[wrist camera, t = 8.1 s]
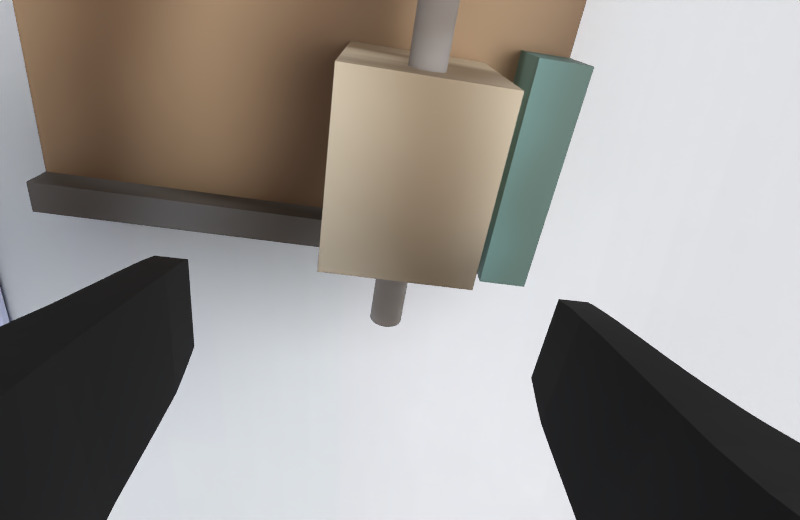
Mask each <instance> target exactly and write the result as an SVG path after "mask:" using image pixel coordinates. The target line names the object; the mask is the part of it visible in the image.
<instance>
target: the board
mask: <svg viewBox="0 0 800 520" xmlns="http://www.w3.org/2000/svg"><path fill="white" fill-rule="evenodd" d="M12 1H13V6H14V11H15V16H16V21H17V26H18V31H19V36H20V41H21V47H22V52H23V57H24V62H25V67H26V72H27V77H28V82H29V87H30V92H31V97H32V102H33V107H34V113H35V118H36V123H37V128H38V133H39V138H40V143H41V148H42V153H43V158H44V163H45V168H46V172H44V173H42V174H41V175H39V176H37V177H35V178H33V179H31V180H29V181H27V182H26V183H27V187H28V192H29V196H30V201H31V205H32V210H33V212H41V213H49V214H57V215H65V216H73V217H81V218H90V219H98V220H106V221H114V222H122V223H130V224H138V225H146V226H154V227H162V228H170V229H178V230H186V231H194V232H202V233H210V234H218V235H226V236H234V237H243V238H251V239H259V240H267V241H275V242H283V243H291V244H299V245H307V246H315V247H320V235H321V223H322V211H323V199H324V187H325V175H326V163H327V151H328V139H329V127H330V115H331V103H332V91H333V79H334V67H335V60H336V59H337V58H338V57H339V55H340V54H341V53H342V51H343V50H344V49H345V48H346V46H347V45H348V44H349V43H350V41H357V42H363V43H370V44H376V45H382V46H388V47H394V48H400V49H406V50H410V48H411V42H412V35H413V28H414V22H415V15H416V8H417V1H418V0H12ZM585 4H586V0H460V3H459V8H458V14H457V19H456V24H455V30H454V35H453V40H452V46H451V51H450V57H455V58H461V59H468V60H474V61H480V62H484V63H486V64H487V65H488V66H490V67H491V68H493V69H494V70H495V71H497V72H498V73H500V74H501V75H502V76H504V77H505V78H507V79H508V80H509V81H511V82H512V83H514V84H515V85H517V86H518V87H519V88H521V89H522V90H524V94H523V98H522V102H521V106H520V110H519V114H518V117H517V121H516V125H515V129H514V133H513V136H512V140H511V144H510V148H509V152H508V156H507V159H506V163H505V167H504V171H503V175H502V179H501V182H500V186H499V190H498V194H497V198H496V201H495V205H494V209H493V213H492V217H491V221H490V224H489V228H488V232H487V236H486V240H485V244H484V247H483V251H482V255H481V259H480V263H479V266H478V270H477V274H478V277H479V280H480V281H482V282H490V283H498V284H507V285H515V286H523V287H524V285H525V282H526V279H527V276H528V272H529V269H530V266H531V263H532V260H533V257H534V254H535V250H536V247H537V244H538V241H539V238H540V235H541V232H542V229H543V225H544V222H545V219H546V216H547V213H548V210H549V207H550V203H551V200H552V197H553V194H554V191H555V188H556V185H557V182H558V178H559V175H560V172H561V169H562V166H563V163H564V160H565V156H566V153H567V150H568V147H569V144H570V141H571V138H572V135H573V131H574V128H575V125H576V122H577V119H578V116H579V113H580V109H581V106H582V103H583V100H584V97H585V94H586V91H587V88H588V84H589V81H590V78H591V75H592V72H593V69H594V67H593V66H590V65H588V64H585V63H582V62H579V61H576V60H573V59H571V58H570V55H571V51H572V48H573V45H574V41H575V38H576V34H577V31H578V28H579V24H580V21H581V17H582V14H583V11H584V7H585Z"/></svg>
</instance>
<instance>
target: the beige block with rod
mask: <svg viewBox="0 0 800 520" xmlns="http://www.w3.org/2000/svg"><path fill="white" fill-rule="evenodd" d="M459 3H460V0H418V1H417V8H416V15H415V22H414V28H413V35H412V42H411V48H410V50H406V49H400V48H394V47H388V46H382V45H376V44H370V43H363V42H357V41H350V43H349V44H348V45H347V46H346V48H345V49H344V50H343V51H342V53H341V54H340V55H339V57H338V58H337V59H336V60H335V67H334V79H333V91H332V103H331V115H330V127H329V139H328V151H327V163H326V175H325V187H324V199H323V211H322V223H321V235H320V247H319V259H318V271H317V272H325V273H333V274H342V275H350V276H358V277H367V278H375V279H376V282H375V288H374V295H373V302H372V308H371V315H370V317H371V320H372V321H373V322H374V323H376V324H378V325H380V326H385V327H392V326H395V325H397V324H399V322H400V320H401V315H402V309H403V304H404V298H405V293H406V288H407V282H409V283H417V284H425V285H434V286H442V287H450V288H459V289H467V290H472V289H473V286H474V282H475V278H476V274H477V270H478V266H479V263H480V259H481V255H482V251H483V247H484V244H485V240H486V236H487V232H488V228H489V224H490V221H491V217H492V213H493V209H494V205H495V201H496V198H497V194H498V190H499V186H500V182H501V179H502V175H503V171H504V167H505V163H506V159H507V156H508V152H509V148H510V144H511V140H512V136H513V133H514V129H515V125H516V121H517V117H518V114H519V110H520V106H521V102H522V98H523V94H524V90H522V89H521V88H519V87H518V86H517V85H515V84H514V83H512V82H511V81H509V80H508V79H507V78H505V77H504V76H502V75H501V74H500V73H498V72H497V71H495V70H494V69H493V68H491V67H490V66H488V65H487V64H486V63H484V62H480V61H474V60H468V59H461V58H455V57H450V51H451V46H452V40H453V35H454V30H455V24H456V19H457V14H458V8H459Z"/></svg>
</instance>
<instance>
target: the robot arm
mask: <svg viewBox="0 0 800 520" xmlns="http://www.w3.org/2000/svg"><path fill="white" fill-rule="evenodd" d="M193 348H194V337H193V323H192V309H191V295H190V281H189V267H188V259H179V258H170V257H161V256H153V257H150V258H147V259H145V260H142V261H140V262H138V263H135V264H133V265H131V266H129V267H127V268H125V269H123V270H120V271H118V272H116V273H114V274H112V275H110V276H108V277H106V278H104V279H102V280H100V281H98V282H96V283H94V284H92V285H90V286H87V287H85V288H83V289H81V290H79V291H77V292H75V293H73V294H71V295H69V296H67V297H65V298H63V299H60V300H58V301H56V302H54V303H52V304H50V305H48V306H45V307H43V308H41V309H39V310H36V311H34V312H32V313H30V314H27V315H25V316H23V317H20V318H18V319H16V320H14V321H11V322H9V318H8V314H7V311H6V307H5V304H4V300H3V296H2V293H1V289H0V520H107V518H108V516H109V514H110V512H111V510H112V508H113V506H114V504H115V502H116V501H117V499H118V497H119V495H120V493H121V492H122V490H123V488H124V486H125V484H126V483H127V481H128V479H129V477H130V475H131V474H132V472H133V470H134V468H135V467H136V465H137V463H138V461H139V459H140V458H141V456H142V454H143V452H144V450H145V449H146V447H147V445H148V443H149V442H150V440H151V438H152V436H153V434H154V433H155V431H156V429H157V427H158V425H159V424H160V422H161V420H162V418H163V416H164V414H165V413H166V411H167V409H168V407H169V405H170V404H171V402H172V400H173V398H174V396H175V394H176V392H177V390H178V387H179V385H180V382H181V380H182V377H183V375H184V373H185V370H186V367H187V365H188V362H189V359H190V356H191V354H192V351H193ZM531 378H532V383H533V388H534V393H535V398H536V403H537V407H538V412H539V416H540V420H541V424H542V427H543V430H544V433H545V436H546V438H547V441H548V444H549V447H550V449H551V452H552V455H553V458H554V461H555V463H556V466H557V469H558V471H559V474H560V477H561V479H562V482H563V485H564V488H565V490H566V493H567V496H568V498H569V501H570V504H571V506H572V509H573V512H574V515H575V517H576V520H800V443H799V442H797V441H795V440H794V439H792V438H790V437H789V436H787V435H785V434H783V433H782V432H780V431H778V430H777V429H775V428H773V427H771V426H770V425H768V424H766V423H765V422H763V421H761V420H760V419H758V418H756V417H755V416H753V415H752V414H750V413H748V412H747V411H745V410H744V409H742V408H741V407H739V406H737V405H736V404H734V403H733V402H731V401H730V400H728V399H727V398H725V397H724V396H722V395H721V394H719V393H718V392H716V391H715V390H713V389H712V388H710V387H709V386H707V385H706V384H704V383H703V382H701V381H700V380H699V379H697V378H696V377H694V376H693V375H691V374H690V373H688V372H687V371H686V370H684V369H683V368H681V367H680V366H679V365H677V364H676V363H674V362H673V361H672V360H670V359H669V358H667V357H666V356H665V355H663V354H662V353H660V352H659V351H658V350H656V349H655V348H654V347H652V346H651V345H649V344H648V343H647V342H645V341H644V340H643V339H641V338H640V337H639V336H637V335H636V334H634V333H633V332H632V331H630V330H629V329H628V328H626V327H625V326H623V325H622V324H621V323H619V322H618V321H616V320H615V319H613V318H612V317H611V316H609V315H608V314H606V313H605V312H603V311H602V310H600V309H598V308H597V307H595V306H593V305H592V304H590V303H588V302H579V301H570V300H561V299H559V300H558V303H557V306H556V309H555V312H554V314H553V317H552V320H551V323H550V326H549V329H548V332H547V334H546V337H545V340H544V343H543V346H542V349H541V352H540V355H539V357H538V360H537V363H536V366H535V369H534V372H533V375H532V377H531Z"/></svg>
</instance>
